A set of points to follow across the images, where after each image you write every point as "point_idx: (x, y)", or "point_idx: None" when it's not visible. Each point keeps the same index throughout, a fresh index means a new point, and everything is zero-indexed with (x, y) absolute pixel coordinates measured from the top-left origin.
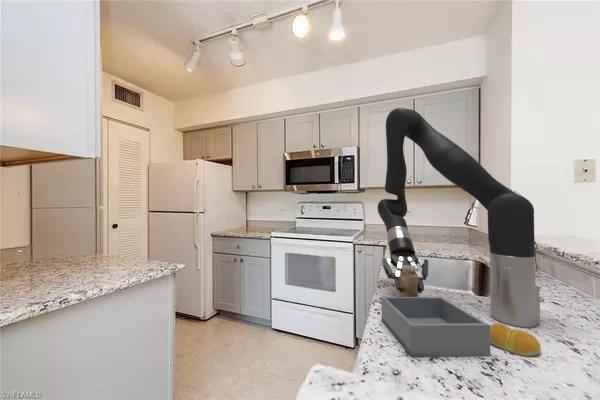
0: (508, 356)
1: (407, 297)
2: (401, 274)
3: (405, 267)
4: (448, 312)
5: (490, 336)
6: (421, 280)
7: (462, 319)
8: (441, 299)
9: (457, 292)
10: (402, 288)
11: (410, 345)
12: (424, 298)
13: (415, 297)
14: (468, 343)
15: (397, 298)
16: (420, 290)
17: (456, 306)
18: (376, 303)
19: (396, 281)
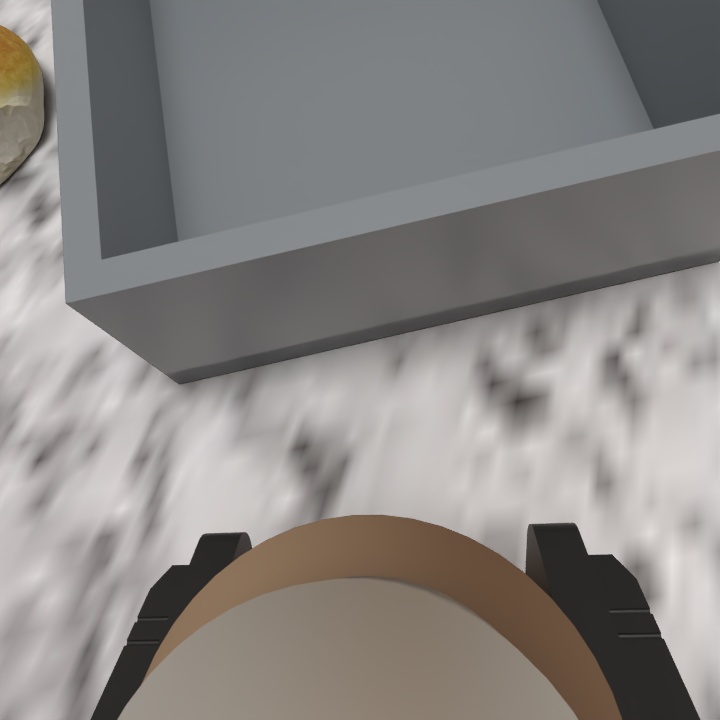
0: (46, 8)
1: (516, 180)
2: (600, 677)
3: (524, 664)
4: (139, 194)
5: (24, 57)
6: (113, 716)
7: (116, 34)
8: (106, 249)
9: None
10: (534, 525)
11: None
12: (304, 213)
13: (411, 206)
14: None
15: (647, 135)
16: (244, 534)
17: (69, 56)
18: None
19: (667, 662)
